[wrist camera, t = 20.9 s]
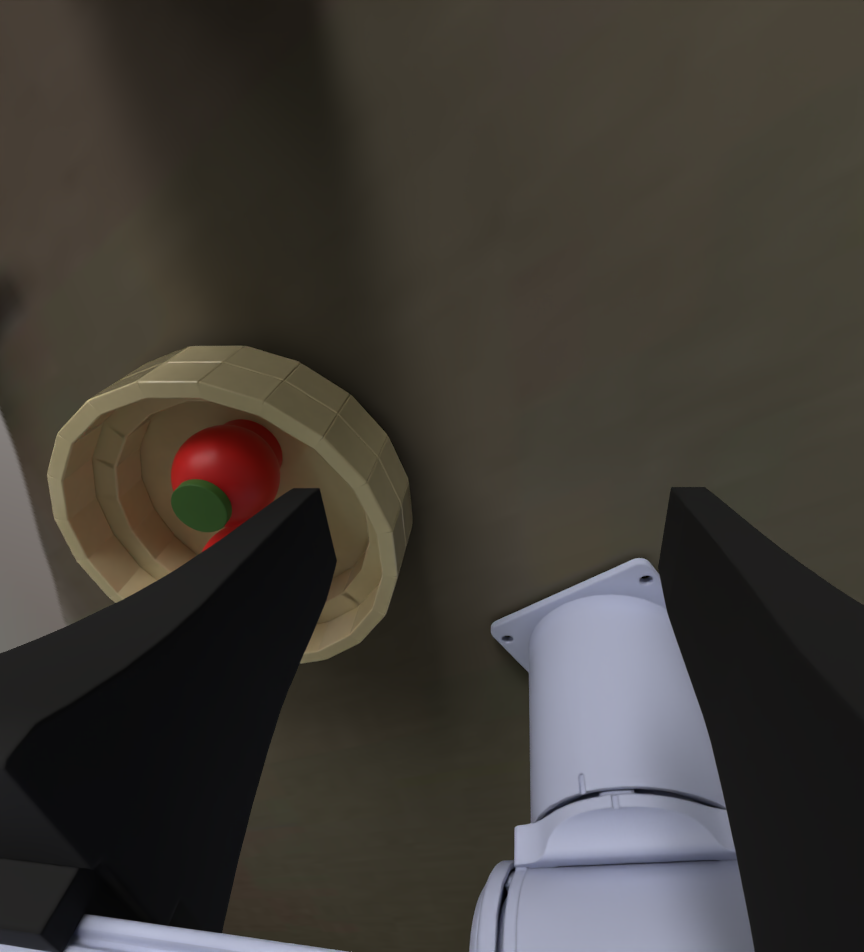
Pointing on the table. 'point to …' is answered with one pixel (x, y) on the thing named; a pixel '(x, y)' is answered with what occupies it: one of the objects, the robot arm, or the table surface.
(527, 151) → the table surface
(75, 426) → the bowl
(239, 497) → the strawberry
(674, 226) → the table surface
